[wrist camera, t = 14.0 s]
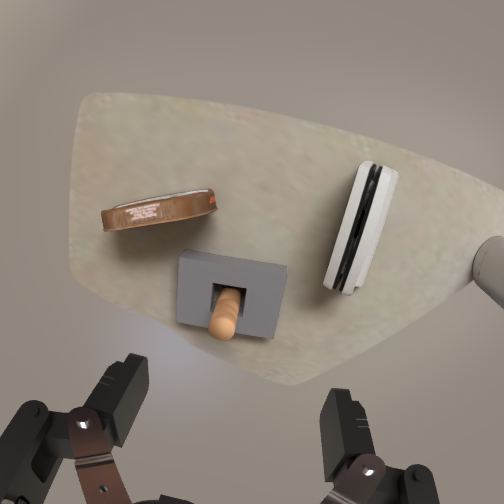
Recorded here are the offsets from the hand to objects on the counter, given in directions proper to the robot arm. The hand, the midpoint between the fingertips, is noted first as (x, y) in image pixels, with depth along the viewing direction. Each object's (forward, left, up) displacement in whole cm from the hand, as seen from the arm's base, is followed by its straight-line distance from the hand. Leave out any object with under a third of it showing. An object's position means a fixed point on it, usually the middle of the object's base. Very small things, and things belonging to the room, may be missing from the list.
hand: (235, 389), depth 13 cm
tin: (+13, 0, -30) cm, 33 cm away
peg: (+3, +11, -30) cm, 32 cm away
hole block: (+3, +11, -30) cm, 32 cm away
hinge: (-12, -2, -30) cm, 33 cm away
